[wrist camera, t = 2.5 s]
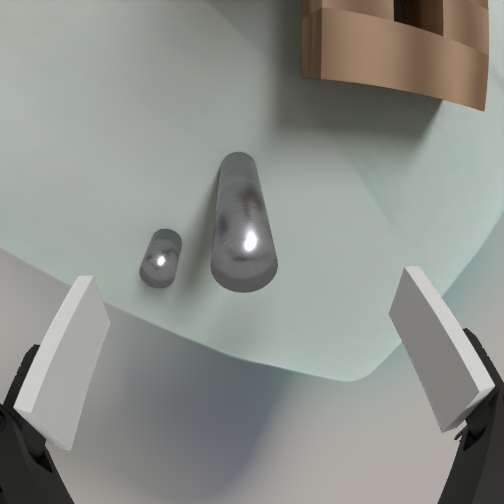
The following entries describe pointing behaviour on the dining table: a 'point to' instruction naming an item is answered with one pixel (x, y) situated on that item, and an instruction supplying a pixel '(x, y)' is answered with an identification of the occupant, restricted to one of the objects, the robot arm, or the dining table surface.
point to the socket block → (400, 46)
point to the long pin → (242, 229)
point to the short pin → (161, 259)
